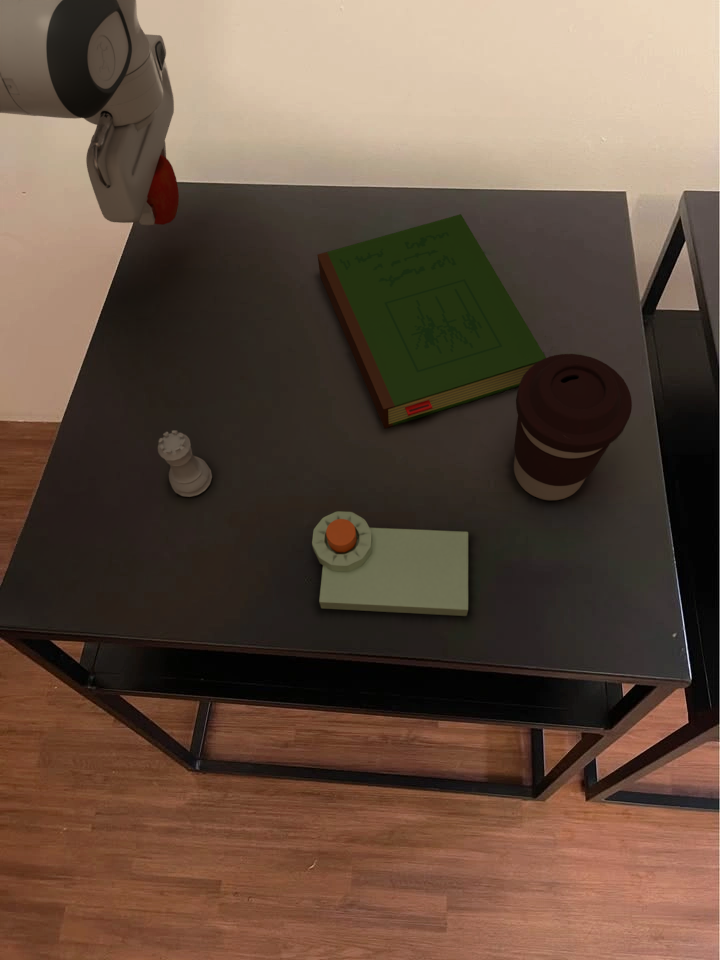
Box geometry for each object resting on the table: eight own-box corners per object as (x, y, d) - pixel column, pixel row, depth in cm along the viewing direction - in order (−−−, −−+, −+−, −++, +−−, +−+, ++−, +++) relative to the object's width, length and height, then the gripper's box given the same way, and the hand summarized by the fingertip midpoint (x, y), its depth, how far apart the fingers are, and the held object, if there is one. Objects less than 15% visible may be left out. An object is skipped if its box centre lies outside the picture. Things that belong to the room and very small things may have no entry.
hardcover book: (320, 277, 90) (317, 254, 87) (459, 237, 92) (460, 214, 89) (386, 434, 79) (386, 414, 75) (543, 384, 81) (549, 363, 77)
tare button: (326, 552, 69) (324, 544, 67) (329, 525, 70) (327, 518, 69) (355, 553, 69) (354, 546, 67) (357, 527, 70) (356, 519, 68)
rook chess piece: (219, 468, 78) (201, 428, 71) (202, 503, 76) (181, 465, 69) (182, 458, 78) (161, 417, 71) (164, 492, 77) (140, 454, 70)
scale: (310, 608, 69) (305, 595, 66) (319, 525, 74) (315, 510, 71) (466, 616, 68) (469, 604, 65) (466, 531, 72) (469, 516, 69)
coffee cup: (590, 523, 72) (631, 445, 59) (492, 502, 74) (511, 421, 61) (601, 442, 77) (642, 352, 64) (509, 423, 78) (530, 333, 65)
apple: (131, 205, 87) (109, 151, 81) (181, 192, 88) (163, 137, 81) (140, 239, 84) (118, 186, 78) (191, 226, 85) (174, 172, 78)
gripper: (122, 151, 67) (164, 263, 79) (166, 27, 77) (197, 143, 89) (56, 151, 67) (108, 262, 79) (108, 28, 77) (147, 143, 89)
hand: (155, 198), depth 84 cm, fingers closed on apple, 6 cm apart
